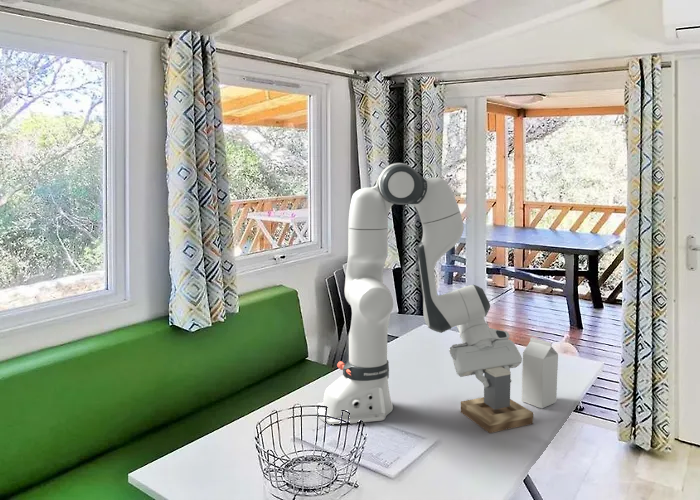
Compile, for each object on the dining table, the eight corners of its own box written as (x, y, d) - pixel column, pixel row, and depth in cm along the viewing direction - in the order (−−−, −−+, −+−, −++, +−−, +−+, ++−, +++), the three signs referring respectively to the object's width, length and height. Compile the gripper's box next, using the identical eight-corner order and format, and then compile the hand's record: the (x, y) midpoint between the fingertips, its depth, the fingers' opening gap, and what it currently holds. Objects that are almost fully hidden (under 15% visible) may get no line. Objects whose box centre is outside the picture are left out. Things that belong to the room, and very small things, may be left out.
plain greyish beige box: (494, 409, 155) (495, 374, 154) (483, 402, 160) (484, 368, 159) (509, 406, 157) (510, 371, 156) (498, 399, 162) (499, 365, 160)
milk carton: (541, 409, 165) (544, 345, 162) (521, 401, 170) (523, 339, 167) (556, 403, 169) (558, 340, 166) (535, 395, 174) (537, 335, 172)
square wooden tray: (489, 433, 150) (489, 421, 150) (460, 412, 163) (460, 401, 163) (532, 423, 155) (533, 412, 155) (501, 404, 168) (501, 393, 168)
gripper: (451, 340, 159) (470, 386, 151) (512, 331, 166) (533, 374, 158) (443, 350, 164) (461, 395, 156) (502, 341, 171) (523, 384, 163)
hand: (498, 385), depth 157 cm, fingers closed on plain greyish beige box, 5 cm apart
